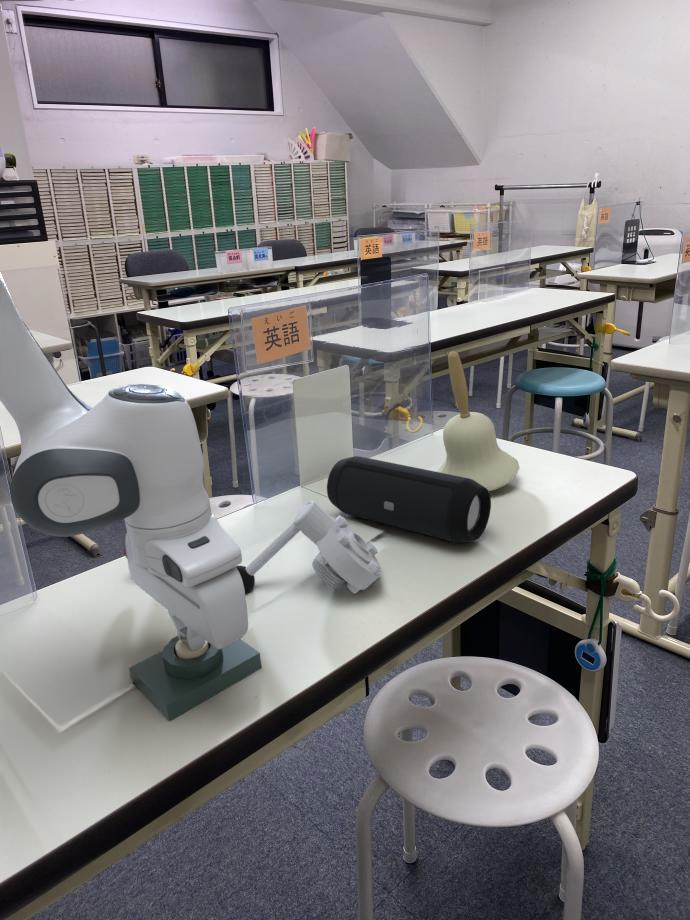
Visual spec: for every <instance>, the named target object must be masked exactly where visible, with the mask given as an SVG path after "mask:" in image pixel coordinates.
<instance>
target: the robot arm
mask: <svg viewBox="0 0 690 920" xmlns="http://www.w3.org/2000/svg"><path fill="white" fill-rule="evenodd" d="M55 368H56V367H54V365H53V364H52V362H51V361H50V359H49V358H48V356H47V355H46V354H45V352H44V351H43V349H42V347H41V346H40V345H39V343H38V341H37V340H36V338H35V337H34V335H33V333H31V331H30V329H29V327H28V326H27V325H26V323H25V322H24V320H23V319H22V317H21V315H20V313H19V311H18V309H17V306H16V305H15V302H14V301H13V298H12V296H11V294H10V291H9V289H8V287H7V285H6V282H5V280H4V278H3V276H2V273H1V272H0V402H1V404H2V405H3V406H4V408H5V409H6V411H7V412H8V413H9V414H10V416H11V417H12V419H13V420H14V422H15V424H16V427H17V429H18V434H19V437H20V447H21V450H20V451H21V452H20V454H19V456H18V459H17V462H16V463H15V467H14V470H13V474H12V478H11V481H10V486H9V494H10V495H9V496H10V500H11V504H12V507H13V508H14V511H15V513H16V514H17V515H18V517H19V518H20V519H21V520H22V521H23V522H24V523H25V524H26V525H28V526H29V527H30V528H32V529H33V530H34V531H37V532H39V533H42V534H44V535H48V536H51V537H59V538H69V537H75V536H80V535H82V534H83V535H84V534H87V533H89V532H93V531H95V530H100V529H102V528H105V527H107V526H110V525H112V524H115V523H118V522H121V521H122V520H123V521H124V524H125V528H126V533H125V535H124V536H125V537H124V543H125V544H124V545H125V546H126V553H127V558H126V560H127V566H128V571H129V574H130V577H131V579H132V581H133V583H134V584H135V585H136V586H137V587H138V588H140V590H142V591H143V592H145V593H146V594H147V596H150V597H151V598H152V599H154V600H155V601H156V602H157V603H158V604H160V605H161V606H162V607H163V608H165V609H166V611H167V612H168V615H169V617H170V619H171V620H172V623H173V625H174V626H175V628H176V633H177V636H178V638H179V640H181V641H182V642H183V643H185V644H186V645H187V646H188V647H189V648H190V649H191V650H194V651H195V650H197V649H199V648H201V647H202V646H204V644H205V640H206V641H207V642H209V643H210V644H211V645H212V646H214V647H215V648H216V649H222V648H225V647H226V646H228V645H230V644H232V643H234V642H236V641H238V640H239V639H242V638H244V637H245V636H246V633H247V632H248V630H249V615H248V614H249V613H248V605H247V599H246V598H247V597H246V594H245V590H244V585H243V581H242V578H241V575H240V573H239V571H238V570H237V568H236V567H235V566H240V565H241V564H242V562H243V555H242V550H241V548H240V546H239V544H238V543H237V542H236V541H235V540H234V539H233V538H232V537H231V536H230V535H229V534H228V532H226V531H225V529H224V527H223V526H222V525H221V523H220V522H219V520H218V518H217V516H215V514H213V512H212V506H211V500H210V496H209V494H208V492H207V490H206V488H205V485H204V479H203V477H204V470H205V462H204V456H203V450H202V445H201V441H200V435H199V431H198V428H197V423H196V420H195V417H194V413H193V411H192V408H191V406H190V404H189V402H188V401H187V400H186V398H185V397H184V396H182V395H181V394H180V393H179V392H178V391H176V390H175V389H172V388H170V387H166V386H161V385H159V384H152V383H151V384H150V383H149V384H148V383H146V384H145V383H133V384H127V385H121V386H117V387H114V388H112V389H110V390H109V391H108V392H107V393H106V395H105V396H104V397H103V398H102V399H101V400H100V401H99V402H98V403H96V404H95V405H94V406H93V407H92V406H91V405H89V404H87V403H86V402H85V401H83V399H81V398H80V397H78V396H77V395H76V394H75V393H73V391H72V390H71V389H70V388H69V387H68V385H67V384H66V383H65V382H64V380H63V379H62V377H61V376H60V375H59V373H58V371H57V370H56V369H55Z"/></svg>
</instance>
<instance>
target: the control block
mask: <svg viewBox="0 0 690 920" xmlns="http://www.w3.org/2000/svg"><path fill="white" fill-rule="evenodd" d="M178 641H179V638H178V635H176V636H174V637H173V638H171V639H169V641H168V642H167V643H166V645H165V646H164V647H163V648H162V650H161V651H159V652H156V653H154V654H153V655H151V656H149V657H147V658H145V659H143V660H141V661H140V662H137V663H134V664H133V665H131V666H129V667H128V671H129V676H130V678H131V679H132V682H131V684H132V685H133V686H134V687H135V688H136V689H137V690H138V691H139V692H140V693H141V694H142V695H143V696H144V697H145V698H146V699H147V701H149V702H150V703H151V704H152V706H154V707H155V709H156V710H157V711H158V712H159V713H160V714H161V715H162V716H163V717H164V718H165V719H166V720H167V721H168V722H172V721H173V720H175V719H177V718H179V717H180V716H183V714H186V713H187V712H189V711H191V710H193V708H195V707H198V706H200V705H201V704H202V703H204V702H206V701H208V700H210V699H211V698H213V697H215V696H216V695H218V694H220V693H221V692H223V691H225V690H227V689H228V688H230V687H232V686H233V685H235V684H237V683H239V682H240V681H242V680H243V679H246V678H247V677H249V676H251V675H252V674H253V673H255V672H258V671H259V670H261V669H262V668H263V666H262V665H263V664H262V659H261V653H260V651H258V650H257V649H255V648H254V647H252V645H250V644H249V643H247V642H246V641H244V640H243V639H242V638H241V639H239V640H238V641H236V642H234V643H232V644H230V645H228V646H226V647H225V648H222V649H216V648H215V647H214V646H212V645H211V644H210V643H209V642H208V646H209V650H208V651H207V652H206V653H205V654H203V655H201V656H199V657H198V658H192V659H181V658H178V657H177V654H176V648H175V646H176V643H177V642H178Z"/></svg>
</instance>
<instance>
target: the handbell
mask: <svg viewBox="0 0 690 920" xmlns="http://www.w3.org/2000/svg"><path fill="white" fill-rule="evenodd" d="M447 362H448V371H449V379H450V385H451V390H452V394H453V396H454V400H455V402H456V405H457V407H458V408H457V409H458V410H459V413H458V414H456V415H455V416H453V417H451V418H450V419H448V421H447V422H446V423H445V424H444V426H443V429H442V439H443V445H444V448H445V449H444V450H445V453H446V456H445V460H444V461H443V462H442V463H441V464H440V467H438V469H437V471H436V472H440V473H445V474H450V475H455V476H460V477H465V478H469V479H472V480H474V481H476V482H477V483H479V484H481V485H482V486H484V487H485V488H486V489H487V490H488V491H489V492H492V491H495V490H497V489H500V488H502V487H505V486H506V485H508V484H509V483H511V481H513V479H516V477H517V474H518V473H519V470H520V464H519V461H518V460H517V459H516V458H515V457H514V456H512V455H511V454H509V453H508V452H507V451H505V450H502V449H501V448H500V447H499V444H498V441H497V435H496V429H495V425H494V423H493V421H492V420H491V418H490V417H489V416H487V415H485V414H483V413H481V412H476V411H469V393H468V392H469V391H468V384H467V380H466V375H465V371H464V368H463V364H462V361H461V358H460V355H459V353H458V352H457V351H455V350H451V351H450V352H449V353H448V355H447Z"/></svg>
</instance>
